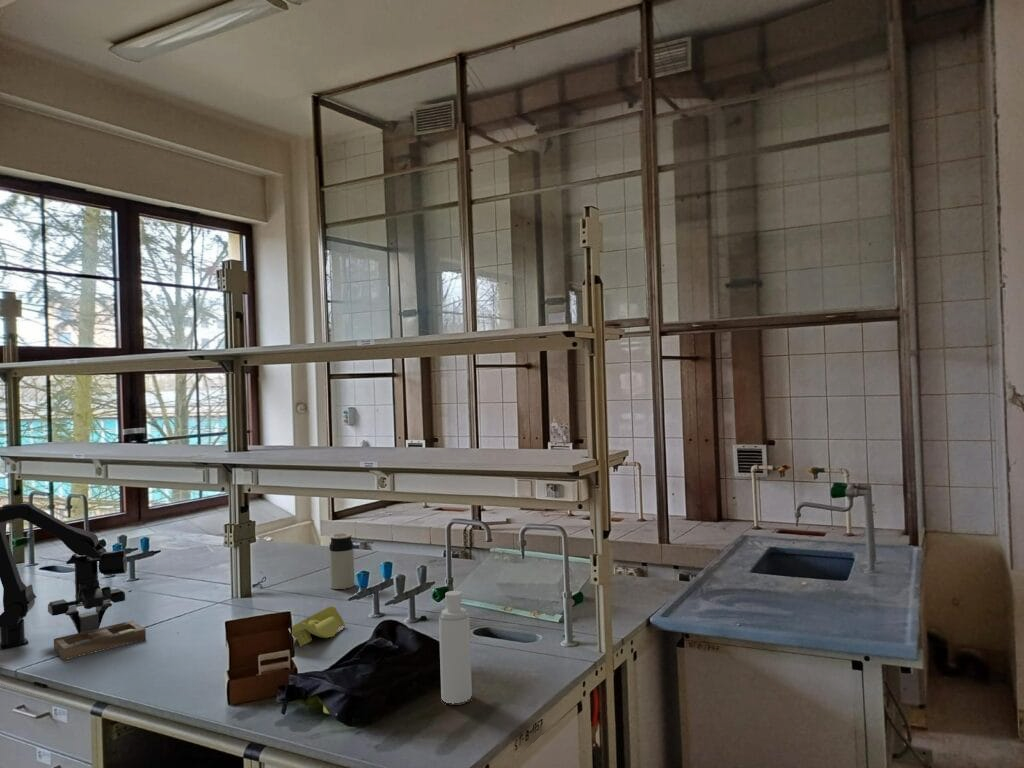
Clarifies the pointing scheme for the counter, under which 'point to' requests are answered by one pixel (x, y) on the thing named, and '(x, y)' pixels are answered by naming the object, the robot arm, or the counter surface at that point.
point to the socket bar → (99, 639)
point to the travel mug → (341, 561)
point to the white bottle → (455, 650)
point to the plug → (88, 621)
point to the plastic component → (318, 625)
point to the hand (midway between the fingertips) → (88, 631)
